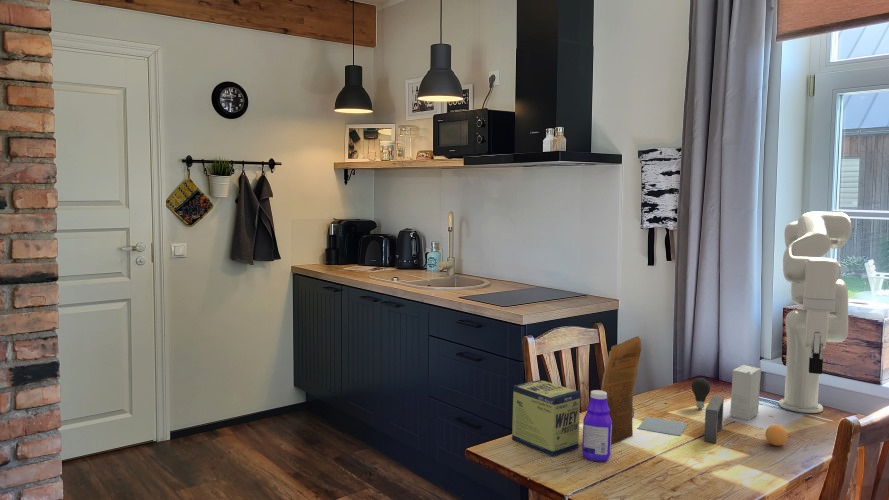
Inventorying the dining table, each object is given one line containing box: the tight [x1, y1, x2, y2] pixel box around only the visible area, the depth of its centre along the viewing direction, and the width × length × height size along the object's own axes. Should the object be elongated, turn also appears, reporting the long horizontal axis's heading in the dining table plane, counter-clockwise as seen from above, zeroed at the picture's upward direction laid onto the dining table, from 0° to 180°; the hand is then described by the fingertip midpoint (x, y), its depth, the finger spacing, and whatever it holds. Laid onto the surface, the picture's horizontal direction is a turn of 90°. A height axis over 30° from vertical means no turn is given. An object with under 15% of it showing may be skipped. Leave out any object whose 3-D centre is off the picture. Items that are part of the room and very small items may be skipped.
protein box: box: [511, 379, 581, 457], centre depth 189 cm, size 10×16×16 cm
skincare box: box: [729, 364, 762, 421], centre depth 216 cm, size 8×6×15 cm
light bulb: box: [691, 377, 711, 410], centre depth 222 cm, size 6×6×10 cm
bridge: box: [703, 395, 725, 444], centre depth 198 cm, size 3×14×9 cm, turn 152°
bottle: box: [581, 389, 612, 462], centre depth 180 cm, size 7×6×17 cm
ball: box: [764, 424, 788, 447], centre depth 191 cm, size 6×6×6 cm
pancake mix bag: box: [600, 335, 642, 445], centre depth 194 cm, size 7×19×28 cm, turn 133°
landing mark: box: [636, 416, 688, 437], centre depth 205 cm, size 12×12×1 cm
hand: (815, 372), depth 189 cm, fingers closed
